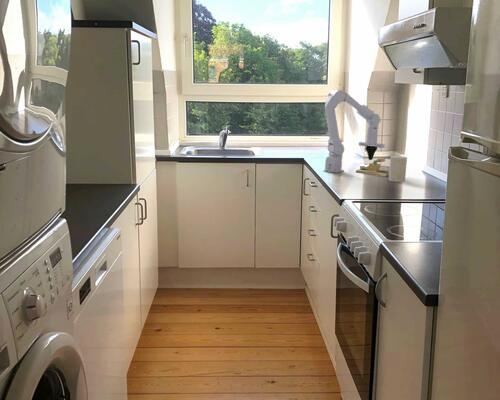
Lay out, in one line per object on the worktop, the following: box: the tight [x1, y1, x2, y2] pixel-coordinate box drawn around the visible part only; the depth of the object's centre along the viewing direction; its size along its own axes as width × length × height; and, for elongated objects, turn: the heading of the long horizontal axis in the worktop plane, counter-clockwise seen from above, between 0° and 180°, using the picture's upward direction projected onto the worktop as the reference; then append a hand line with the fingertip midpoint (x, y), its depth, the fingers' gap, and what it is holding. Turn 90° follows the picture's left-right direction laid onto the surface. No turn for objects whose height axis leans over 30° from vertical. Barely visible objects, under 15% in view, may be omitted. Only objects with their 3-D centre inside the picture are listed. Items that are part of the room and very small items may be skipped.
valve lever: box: [372, 157, 386, 164], centre depth 308 cm, size 12×2×2 cm, turn 143°
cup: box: [388, 155, 408, 183], centre depth 285 cm, size 8×8×12 cm
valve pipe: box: [359, 162, 390, 173], centre depth 305 cm, size 4×16×4 cm, turn 53°
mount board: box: [355, 168, 389, 177], centre depth 306 cm, size 10×17×1 cm, turn 53°
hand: (370, 159), depth 312 cm, fingers closed
